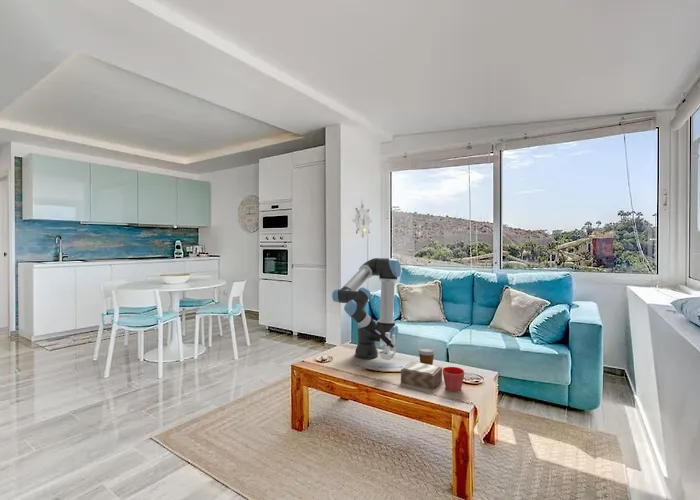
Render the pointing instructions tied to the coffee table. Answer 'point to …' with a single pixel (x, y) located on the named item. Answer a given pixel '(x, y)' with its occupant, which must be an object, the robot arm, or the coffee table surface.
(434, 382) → the chevron patterned box
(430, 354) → the disposable coffee cup
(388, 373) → the coffee table surface
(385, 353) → the figurine
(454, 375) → the flower pot
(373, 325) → the robot arm
